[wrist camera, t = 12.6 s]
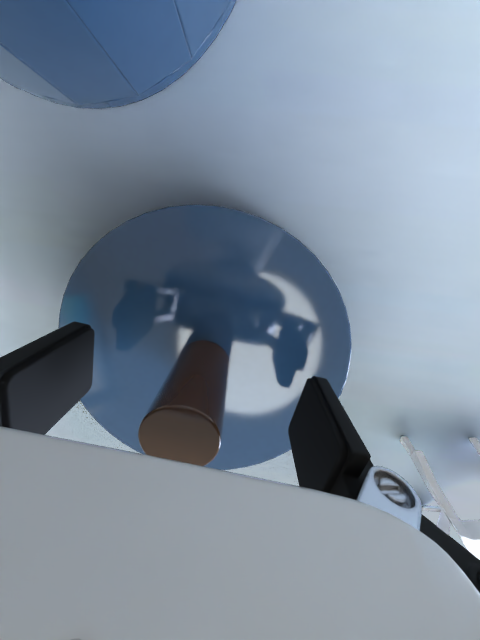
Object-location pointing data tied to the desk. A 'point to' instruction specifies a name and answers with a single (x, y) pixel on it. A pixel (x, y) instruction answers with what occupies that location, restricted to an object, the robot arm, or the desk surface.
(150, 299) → the lid
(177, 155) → the desk surface
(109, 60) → the dish
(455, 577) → the robot arm
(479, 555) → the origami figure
